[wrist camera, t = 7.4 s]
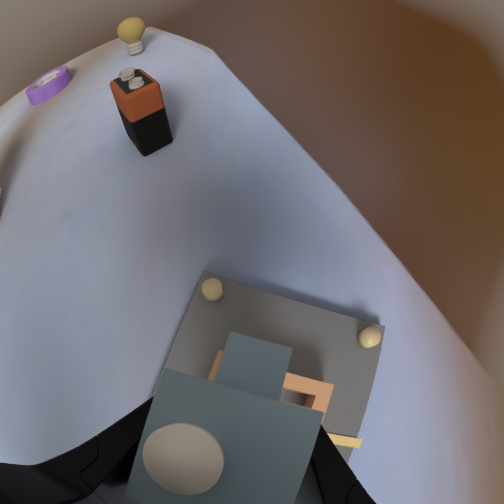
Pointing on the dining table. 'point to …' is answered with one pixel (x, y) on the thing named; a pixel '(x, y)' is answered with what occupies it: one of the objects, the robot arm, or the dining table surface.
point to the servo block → (225, 433)
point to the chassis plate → (291, 335)
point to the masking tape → (48, 85)
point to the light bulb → (132, 34)
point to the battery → (141, 110)
